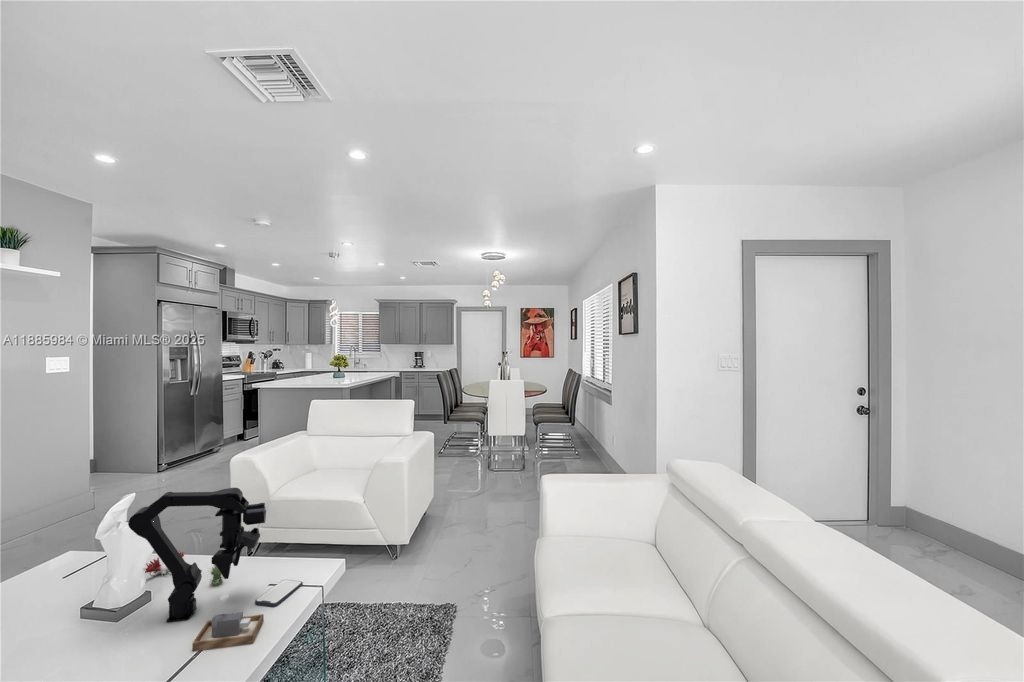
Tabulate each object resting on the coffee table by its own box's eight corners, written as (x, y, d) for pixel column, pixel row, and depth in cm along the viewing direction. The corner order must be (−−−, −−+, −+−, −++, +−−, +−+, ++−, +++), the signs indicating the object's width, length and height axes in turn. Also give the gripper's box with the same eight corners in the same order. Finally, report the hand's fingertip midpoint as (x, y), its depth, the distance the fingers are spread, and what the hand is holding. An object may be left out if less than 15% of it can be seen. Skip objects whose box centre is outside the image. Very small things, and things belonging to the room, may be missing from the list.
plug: (209, 638, 142) (209, 622, 142) (214, 630, 146) (214, 614, 146) (247, 634, 144) (247, 618, 144) (251, 626, 148) (251, 610, 148)
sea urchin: (207, 597, 166) (208, 575, 166) (191, 587, 172) (191, 567, 172) (242, 582, 176) (242, 562, 176) (225, 573, 182) (225, 554, 183)
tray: (192, 651, 137) (192, 643, 137) (207, 628, 148) (207, 620, 148) (253, 643, 141) (253, 635, 141) (263, 621, 152) (263, 614, 152)
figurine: (171, 562, 191) (171, 546, 191) (191, 567, 187) (191, 551, 187) (130, 579, 177) (130, 562, 177) (150, 585, 173) (150, 567, 173)
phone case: (283, 583, 177) (252, 605, 162) (283, 578, 177) (253, 601, 162) (304, 585, 176) (275, 608, 160) (304, 581, 176) (276, 604, 160)
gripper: (249, 535, 153) (248, 583, 153) (265, 514, 171) (264, 557, 171) (211, 538, 150) (210, 587, 150) (231, 517, 168) (230, 560, 168)
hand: (231, 572), depth 160 cm, fingers open, 9 cm apart
